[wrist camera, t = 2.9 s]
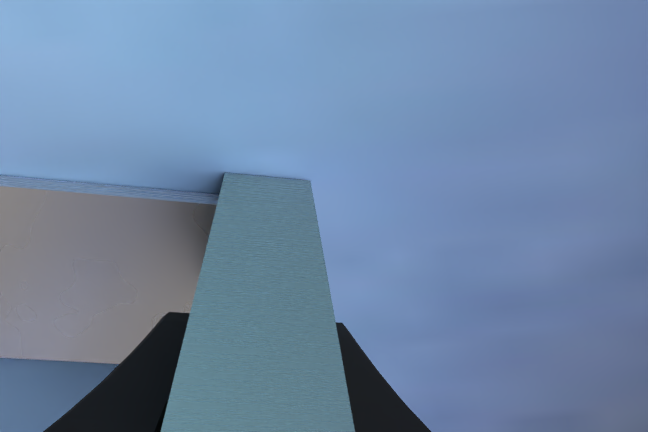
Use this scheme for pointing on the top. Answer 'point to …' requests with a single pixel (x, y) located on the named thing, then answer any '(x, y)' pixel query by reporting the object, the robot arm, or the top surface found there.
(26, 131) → the top surface
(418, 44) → the top surface
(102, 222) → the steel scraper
